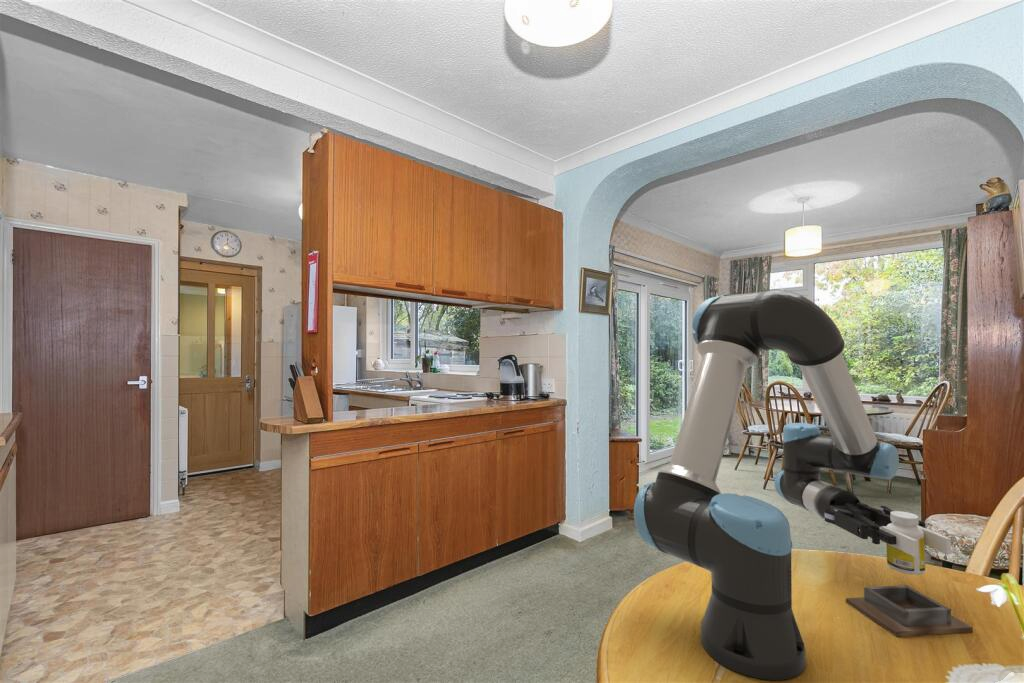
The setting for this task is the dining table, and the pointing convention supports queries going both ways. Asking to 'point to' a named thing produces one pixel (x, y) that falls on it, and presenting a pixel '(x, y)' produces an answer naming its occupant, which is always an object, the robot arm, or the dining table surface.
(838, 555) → the dining table surface
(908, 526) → the supplement bottle
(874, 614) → the collar holder
